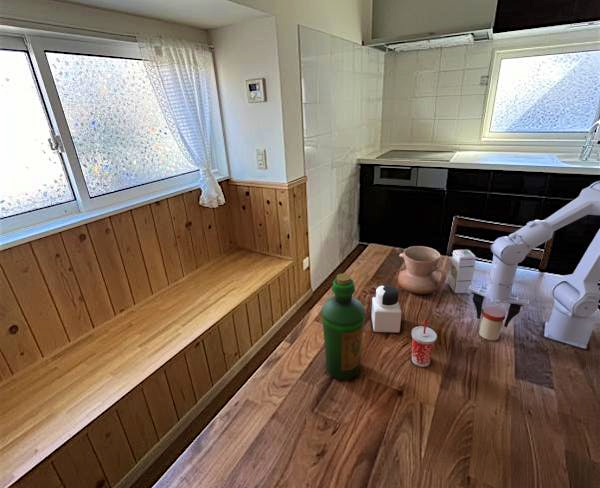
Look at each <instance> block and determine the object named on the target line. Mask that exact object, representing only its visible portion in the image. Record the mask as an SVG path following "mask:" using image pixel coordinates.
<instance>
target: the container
mask: <svg viewBox="0 0 600 488" xmlns="http://www.w3.org/2000/svg"><path fill="white" fill-rule="evenodd" d="M399 293H400V291H399V290H398V288H397V287H395V286H393V285H390V284H383V285H380V286H378V287H377V288H376V289H375V296H373V297H372V298H371V323H372V330H373V332H374V333H398V334H399V333H400V331H401V323H402V312H403V311H402V309H401V305H400V302H399Z"/></svg>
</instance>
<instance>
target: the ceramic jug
mask: <svg viewBox="0 0 600 488" xmlns="http://www.w3.org/2000/svg"><path fill="white" fill-rule="evenodd" d="M399 258H402V259H403V261H404V263H405V267H406V268H405V269H404V270H400V271H399V273H398V276H397V282H398V284H399V286H400V287H401V288H402V289H403V290H405V291H407V292H408V293H411V294H416V295H429V294H433V293H435V292H437V291H438V290H439V289H440V288H441V286H442V285H443V284H444V283H445V282H446V279H447V271H446V270H445V268H443V267H441V266H438V264H439V262H440V258H441V253H440V252H439V251H437V249H434V248H432V247H430V246H429V247H428V246H425V245H413V246H409V247H407V248H404V250H403V252H402V253H400V254H399ZM435 272H440V273H441V278H440V277H439V276H438V275H437V274H436V273H435Z"/></svg>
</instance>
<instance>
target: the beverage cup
mask: <svg viewBox="0 0 600 488" xmlns="http://www.w3.org/2000/svg"><path fill="white" fill-rule="evenodd" d="M427 320H428V317H427V316H426V317H424V324H423V326H421V325H419V326H415V327H414V328H412V330H411V338H412V341H411V342H412V343H411V361H412V363H413V364H414V365H415V366H417V367H421V368H426V367H429V365H430V364H431V359H432V355H433V350H434V346H435V342H436V341H437V338H438V336H437V333H436V332H435V331H434V330H433V329H432V328H430V327H427V324H428V321H427Z"/></svg>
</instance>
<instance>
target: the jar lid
mask: <svg viewBox="0 0 600 488" xmlns="http://www.w3.org/2000/svg"><path fill="white" fill-rule="evenodd" d="M506 314H507V312H506V311H505V309H503V308H502V307H499V306H497V305H493V304H487V305H484V306H482V313H481V316H482V315H483V316H484V317H485V318H487V319H488V320H491V321H496V322H500V321H503V322H504V320H506V316H507V315H506Z"/></svg>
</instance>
